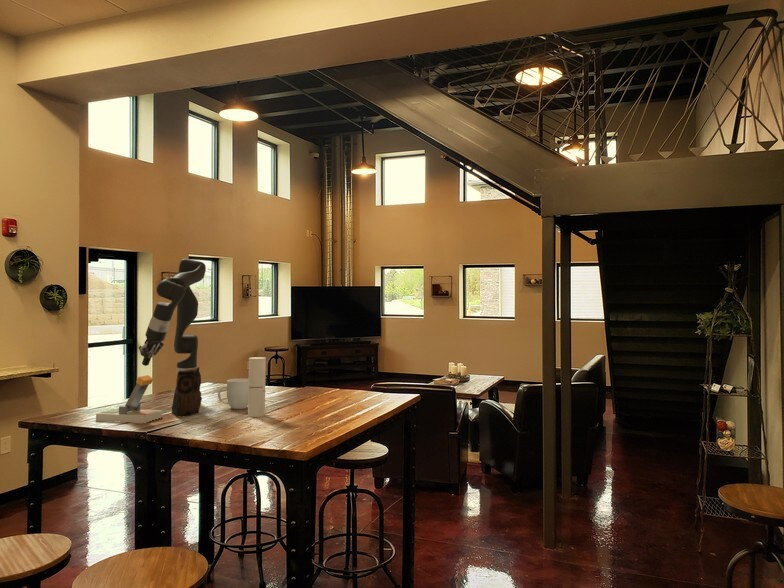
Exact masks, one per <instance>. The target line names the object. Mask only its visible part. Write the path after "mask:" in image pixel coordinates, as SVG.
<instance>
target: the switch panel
mask: <svg viewBox="0 0 784 588" xmlns="http://www.w3.org/2000/svg"><path fill="white" fill-rule="evenodd" d="M141 404H142V403H141V402H139V404H138V406H137V409H136V410H133V411H130V412H127V407H128V406H125V405H124V406H123V405H120V406H118V408H116V407H115V408H110V409H107V410H103V411H100V412H97V413H95V421H96V422H107V421H120V422H119V423H125V422H133V423H132V424H143V423H145V424H147V423H146V422H148V423H150V422H149V421H151V422H153V421H152V420H154V421H156V420H155V419H157V420H159V419H158V418H160V419H162V418H163V410H157V409H141ZM161 417H162V418H161Z"/></svg>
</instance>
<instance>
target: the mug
mask: <svg viewBox="0 0 784 588" xmlns="http://www.w3.org/2000/svg"><path fill="white" fill-rule="evenodd" d="M248 388H249V378H229V379H227V380H226V385H223V386H221V387H220V388H219V390H218V393H217V397H218V398H217V399H219V402H221V403H222V404H225V405H229V407H230V409H232V410H244V409H246V408H248ZM223 389H226V398H227V401H224V400H223V399H222V397H221V392H222V390H223Z"/></svg>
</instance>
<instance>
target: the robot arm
mask: <svg viewBox="0 0 784 588" xmlns="http://www.w3.org/2000/svg"><path fill="white" fill-rule="evenodd" d="M206 269H207V266H206V264H205V263H204V262H203V261H199V260H194V259H190V258H182V259H181V260H180V262H179V266H178V273H177V274H175V275H174V276H173V277H169V278H164V279H163V280H161V281H160V282H159V283H158V284H157V286H156V294H157V295H158V296H159V297H161V298H162V299H167V300H168V301H171V302H165V301H162V302H161V301H160V302H157V303H156V305H155V307H154V311H153V313H152V316H151V318H150V321H149V323H148V326H147V328H146V331H145V338H146V339H145V340H144V343H143V345H139V346H138V349H139V353H140V356H142V357H143V359H142V362H141V364H142V365H143V366H144V367H147V366H149V365H150V361H151V359H152V358H153V357H154V356H156V355H157V354H158V353H159V352H160V350H161V349H162V348H163V347H164V345H165V344H164V343H163V341H165V338H166V336H167V334H168V331H169V328H170V325H171V319H172V317H173V315H174V311H175V310H176V325H175V326H176V327H175V336H174V341H173V349H174V352H175V354H182V355H183V354H184V355H186V354H189V356H188V357H185V358H184V359H182V360H179V361H178V362H176V375H177V374H178V372H179V371H183V370H187V369H194V368H198V366H197V365H198V348H199V347H198V346H199V339H198V336H197V334H184V333H185V332H186V330H187V328H188V327H189V326H191V324H192V323H193V322H194V321H195V320H196V319H197V316H198V311H199V301H198V298H197V296H196V295H195V294H194V292H193V290H192V288H191V286H192V285H194V284H197V283H199V282H201V281H202V280H203V279H204V277H205V275H206Z"/></svg>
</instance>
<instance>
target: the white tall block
mask: <svg viewBox="0 0 784 588" xmlns="http://www.w3.org/2000/svg"><path fill="white" fill-rule="evenodd" d="M266 367H267V357H264V356H263V357H261V356H259V357H255V356H254V357H253V356H252V357H249V358H248V379H249V388H248V405H247V416H248V417H251V418H260V417H264V416H266V413H265V412H266V372H267V371H266V370H267V369H266Z"/></svg>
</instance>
